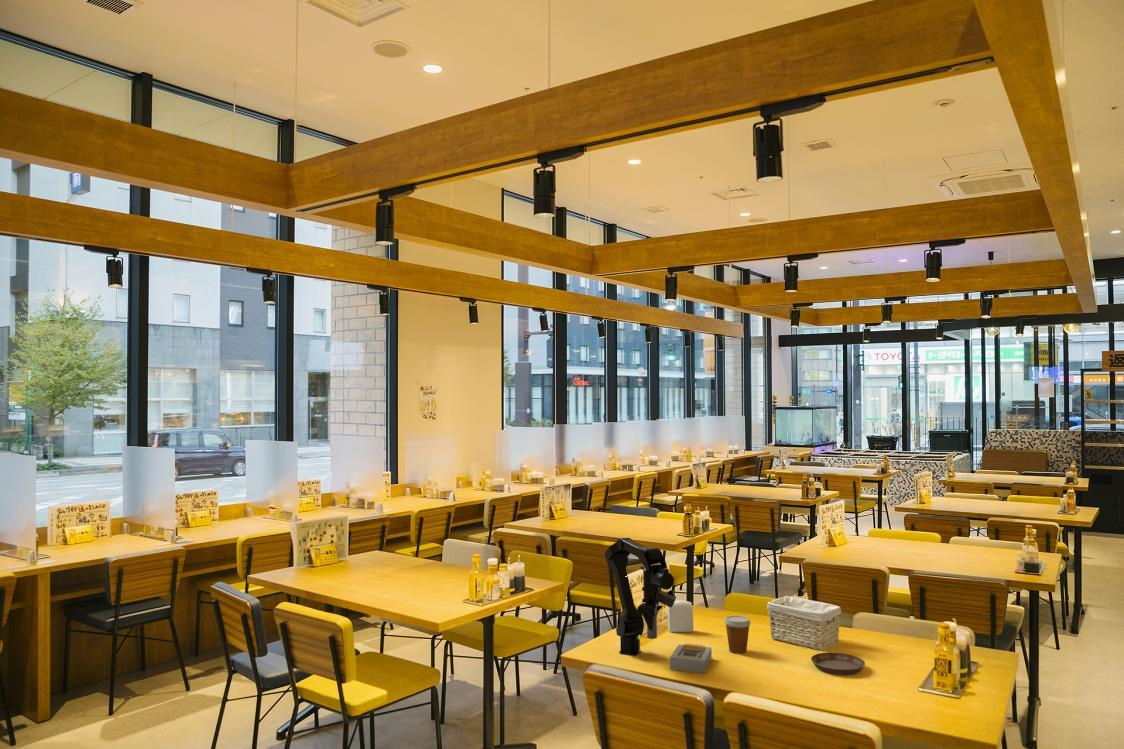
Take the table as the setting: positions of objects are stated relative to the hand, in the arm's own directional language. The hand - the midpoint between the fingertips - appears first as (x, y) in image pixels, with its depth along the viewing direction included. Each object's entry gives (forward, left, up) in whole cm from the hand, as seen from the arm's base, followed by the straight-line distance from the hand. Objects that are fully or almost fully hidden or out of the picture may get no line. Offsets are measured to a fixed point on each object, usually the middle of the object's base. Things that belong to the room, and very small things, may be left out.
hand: (651, 628), depth 266 cm
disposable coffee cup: (+27, +25, -13) cm, 39 cm away
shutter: (+13, +9, -8) cm, 18 cm away
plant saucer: (+62, +17, -13) cm, 66 cm away
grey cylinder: (0, 0, -3) cm, 3 cm away
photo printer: (+2, +44, -13) cm, 46 cm away
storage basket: (+50, +46, -13) cm, 69 cm away
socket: (+13, +5, -13) cm, 19 cm away
